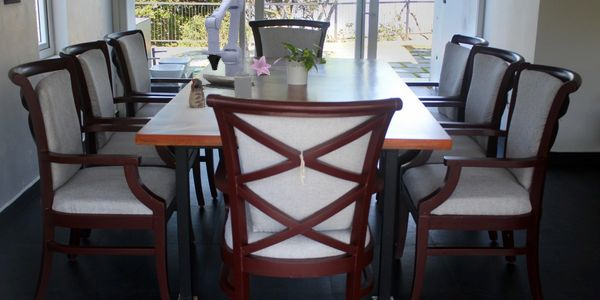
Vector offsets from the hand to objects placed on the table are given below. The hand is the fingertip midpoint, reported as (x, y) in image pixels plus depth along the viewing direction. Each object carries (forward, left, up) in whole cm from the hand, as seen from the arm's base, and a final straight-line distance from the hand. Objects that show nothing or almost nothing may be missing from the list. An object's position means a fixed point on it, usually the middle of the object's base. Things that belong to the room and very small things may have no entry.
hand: (214, 70), depth 345 cm
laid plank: (-9, +4, -8) cm, 13 cm away
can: (+21, +35, -8) cm, 42 cm away
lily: (-44, -6, -8) cm, 45 cm away
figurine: (+43, +28, -8) cm, 52 cm away
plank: (-1, +4, -6) cm, 7 cm away
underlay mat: (-5, +4, -8) cm, 10 cm away
